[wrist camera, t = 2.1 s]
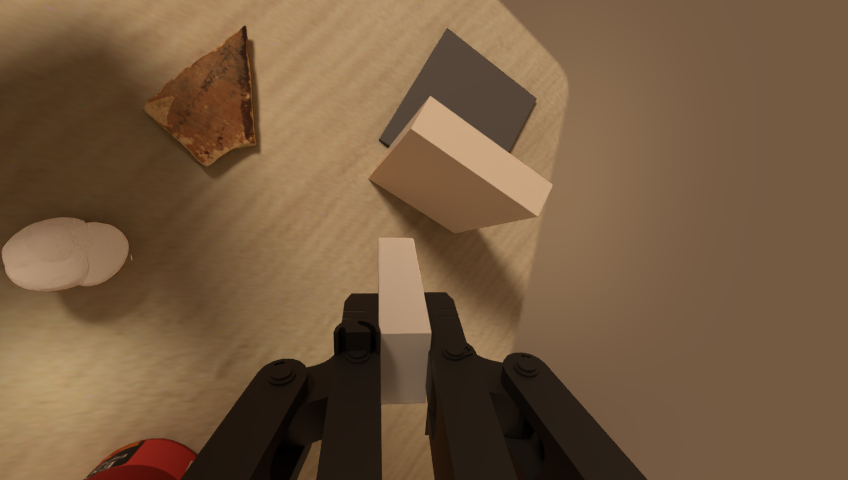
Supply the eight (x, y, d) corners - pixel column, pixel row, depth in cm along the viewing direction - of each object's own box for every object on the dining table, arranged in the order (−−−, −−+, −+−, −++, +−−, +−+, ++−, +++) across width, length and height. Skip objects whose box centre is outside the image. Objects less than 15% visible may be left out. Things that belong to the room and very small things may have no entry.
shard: (247, 34, 34) (244, 22, 33) (311, 101, 36) (312, 93, 34) (143, 111, 31) (134, 102, 30) (218, 180, 33) (214, 175, 31)
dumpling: (25, 290, 28) (-17, 294, 24) (27, 218, 28) (-14, 211, 24) (140, 285, 30) (118, 288, 26) (141, 219, 30) (119, 212, 27)
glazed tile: (368, 178, 36) (410, 128, 23) (381, 155, 37) (431, 93, 24) (454, 233, 39) (537, 216, 26) (466, 211, 39) (553, 183, 26)
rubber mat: (378, 140, 37) (379, 138, 36) (445, 30, 40) (447, 28, 39) (478, 207, 40) (480, 206, 39) (534, 100, 43) (536, 98, 42)
